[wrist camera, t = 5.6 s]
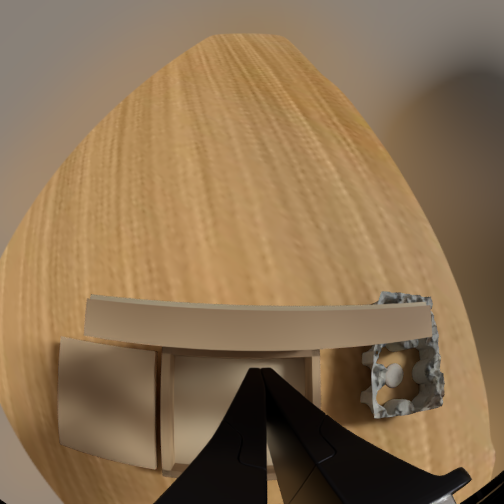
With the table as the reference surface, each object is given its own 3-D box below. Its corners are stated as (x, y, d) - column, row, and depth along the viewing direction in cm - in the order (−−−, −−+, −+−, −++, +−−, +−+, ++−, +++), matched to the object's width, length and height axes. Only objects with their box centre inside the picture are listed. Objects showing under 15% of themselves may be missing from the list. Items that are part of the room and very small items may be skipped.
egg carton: (416, 410, 19) (444, 412, 15) (349, 416, 19) (373, 422, 15) (421, 305, 24) (446, 293, 20) (359, 297, 23) (381, 283, 20)
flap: (314, 345, 18) (432, 336, 7) (168, 342, 17) (83, 335, 6) (314, 329, 19) (430, 300, 7) (169, 325, 18) (87, 293, 6)
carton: (309, 465, 17) (319, 474, 14) (74, 444, 15) (60, 449, 12) (309, 350, 21) (319, 347, 19) (76, 335, 19) (61, 330, 17)
